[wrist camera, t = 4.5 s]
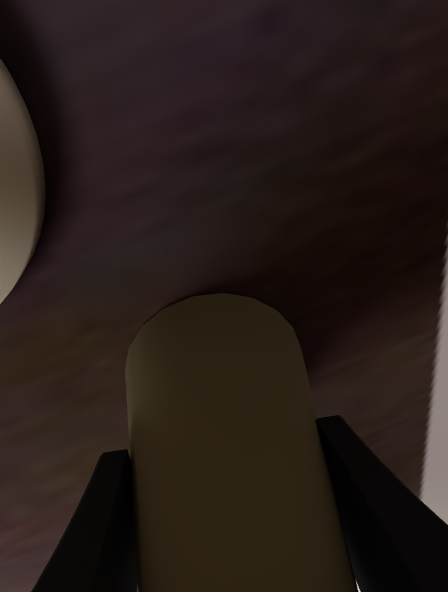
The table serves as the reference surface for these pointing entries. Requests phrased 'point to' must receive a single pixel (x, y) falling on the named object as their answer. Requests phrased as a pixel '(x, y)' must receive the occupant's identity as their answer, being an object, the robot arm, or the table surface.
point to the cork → (229, 455)
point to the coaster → (18, 185)
